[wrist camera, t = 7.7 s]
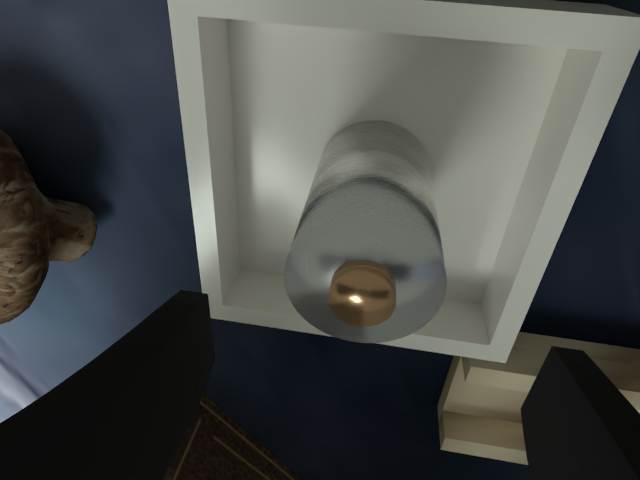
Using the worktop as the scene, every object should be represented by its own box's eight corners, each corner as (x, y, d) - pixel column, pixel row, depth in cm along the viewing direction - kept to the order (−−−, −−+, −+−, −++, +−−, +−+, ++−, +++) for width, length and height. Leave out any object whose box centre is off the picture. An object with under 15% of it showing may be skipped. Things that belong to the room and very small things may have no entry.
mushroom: (140, 291, 18) (-63, 346, 13) (73, 302, 23) (-85, 343, 19) (91, 94, 18) (-131, 81, 13) (36, 152, 23) (-134, 157, 19)
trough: (748, 365, 19) (790, 415, 17) (678, 445, 23) (706, 495, 20) (464, 323, 20) (470, 366, 18) (437, 405, 24) (440, 449, 22)
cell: (441, 127, 15) (469, 244, 9) (417, 227, 17) (429, 371, 12) (323, 113, 15) (280, 218, 10) (315, 213, 18) (276, 347, 12)
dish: (604, 4, 13) (652, 18, 11) (492, 310, 20) (505, 363, 17) (206, -27, 14) (165, -21, 12) (228, 272, 21) (205, 317, 18)
